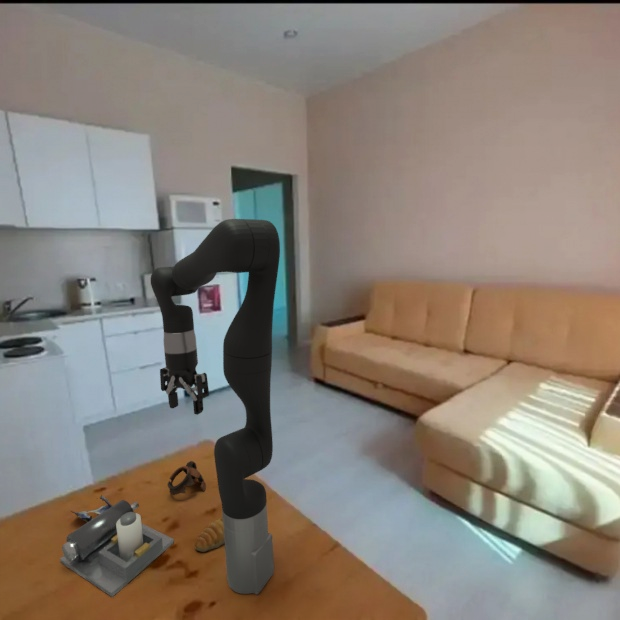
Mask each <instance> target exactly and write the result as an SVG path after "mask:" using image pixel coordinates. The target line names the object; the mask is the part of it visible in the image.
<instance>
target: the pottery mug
mask: <svg viewBox="0 0 620 620" xmlns="http://www.w3.org/2000/svg"><path fill="white" fill-rule="evenodd" d="M182 472H183V473H184V474H185V477H184V478H183V479H182V481H180V483H178V484H176V485H173V483H174V480H175V479H176V478H177V477H178V475H180V474H181V473H182ZM195 479H197V482H198V483H201V484H200V488H201V490H202V492H205V491H206V487H207V485H206V482H205V479H204V478H203V476H202V474H201V472H200V471H199V470H198V469H197V464H196V462H194V461H193V460H190V461H188V462H186V465H182V466H180V467H178V468H177V469H176V470H174V472H173V473H172V474H170V477H169V481H168V483H167V487H168V489H169V493H170V495H172V496H177V495H179V494H186V487H190V486H194V485H195V484H196V483H195V481H194V480H195Z"/></svg>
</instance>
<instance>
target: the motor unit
mask: <svg viewBox="0 0 620 620" xmlns="http://www.w3.org/2000/svg"><path fill="white" fill-rule="evenodd" d="M139 507H140V505H139V503H138V502H137V501H135V502H133V503H132V504H131V503H129V502H128V501H127V500H124V499H121V500H119V501H118V502H116V503H115V504H113V505H112V507H110V508H109V509H107V510H106V511H104V512H103V513H101V514H100V515H99V514H98V515H96V516H95V517H92V520H90V521H89V522H86V523H84V524H83V525H82V526H80V527H78V528H77V529H75V530H74V531H73V532H71V533H69V534H68V535H66V542H65V543H64V544H62V546H61V550H62V553H63V556H62V557H60V558H59V562H60V563H61V564H62V565H64V566H65V567H67V568H68V569H70V571H72V572H74V573H75V574H76V575H78V576H80V577H81V578H83V579H84V580H86V581H87V582H89V583H90V584H92V585H93V586H95V587H96V588H98V589H99V590H101V591H102V592H104V593H105V594H106V595H108V596H110V597H111V598H113V597H114V596H115V595H117V594H118V593H119V592H120V591H121V590H123V588H125V586H127V585H128V584H129V583H130V582H131V581H133V580H134V579H135V578H136V577H137V576H138V575H139V574H140V573H142V571H144V570H145V569H146V568H147V567H148V566H149V565H151V564H152V563H153V562H154V561H156V559H157V558H158V557H159V556H160V555H162V554H163V553H164V552H165V551H166V550H168V549H169V548H170V547H171V546H172V545H173V544H174V543H175V542H174V541H175V540H174V538H173V537H171V536H169V535H167V534H164V533H162V532H160V531H158V530H156V529H154V528H152V527H150V526H148V525H146V524H144V523H142V522H141V525H142V534H143V545H142V546H141V547H140V548H139V549H137V550H136V551H135V552H134V554H135V556H134V557H132V558H131V559H130V560H129V561H128V562H126V561H124V560H122V559H121V558H120V553H119V545H118V537H117V528H116V523H117V521H118V520H119V519H120V518H121V516H122V515H124V514H125V513H128V512H134V511H135V510H137V509H138V508H139Z"/></svg>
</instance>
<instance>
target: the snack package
mask: <svg viewBox="0 0 620 620" xmlns="http://www.w3.org/2000/svg"><path fill="white" fill-rule="evenodd" d="M98 499H100V500H102V501H103V502H105V505H103V506H100V507H98V508H97V509H94V510H89V511H88V510H85V511H84V510H83V511H82V510H81V511H79V512H75V511H72V510H70V512H71V513H73V514H75V516H77V518H78V519H80V520H82V521H84V522H86V523H87V522H89V521H90V520H92V519H93V516H92V515H91V516H90V514H89V513H95V514H98V515H100V514H101V513H103V512H104V511H106V510H107V509H109V508H110V507H112V506H113V505H112V504H111V503H110V501H109V499H108V498H105V495H102V494H101V495H100V497H99V498H97V497H96V500H98Z"/></svg>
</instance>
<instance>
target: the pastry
mask: <svg viewBox="0 0 620 620" xmlns="http://www.w3.org/2000/svg"><path fill="white" fill-rule="evenodd" d="M223 545H225V542H224V529H223V516H221V517H220V518H219V519H217V520H214V521H212V522H210V523H208V524H207V525H206V527H205V528H204V529H203V531H201V532H200V533H199V534H198V536H197V538H196V539H195V542H194V548H195V550H196V551H198V552H200V553H201V552H202V553H205V552H209V551H210V550H213V549H218V548H220V546H223Z"/></svg>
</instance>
